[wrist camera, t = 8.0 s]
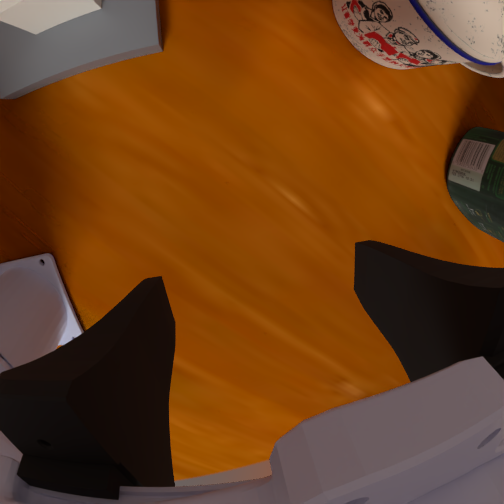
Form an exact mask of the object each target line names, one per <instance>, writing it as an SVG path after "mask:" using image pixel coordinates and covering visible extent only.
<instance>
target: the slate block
mask: <svg viewBox="0 0 504 504" xmlns="http://www.w3.org/2000/svg"><path fill="white" fill-rule="evenodd" d="M101 7H102V9H99V10H96V11H93V12H90V13H87V14H84V15H82V16H79V17H76V18H74V19H71V20H69V21H66V22H64V23H61V24H59V25H56V26H54V27H52V28H49V29H47V30H45V31H43V32H41V33H38V34H36V35H35V34H33V33H30V32H28V31H26V30H23V29H21V28H18V27H15V26H13V25H10V24H8V23H5V22H2V21H0V99H16V98H18V97H21V96H23V95H25V94H27V93H30V92H32V91H34V90H37V89H39V88H41V87H44V86H46V85H49V84H51V83H54V82H57V81H59V80H62V79H65V78H68V77H70V76H73V75H76V74H79V73H82V72H85V71H88V70H91V69H95V68H98V67H101V66H105V65H108V64H112V63H115V62H119V61H123V60H127V59H131V58H135V57H139V56H143V55H148V54H152V53H157V52H162V51H163V45H162V35H161V23H160V11H159V0H101Z"/></svg>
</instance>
